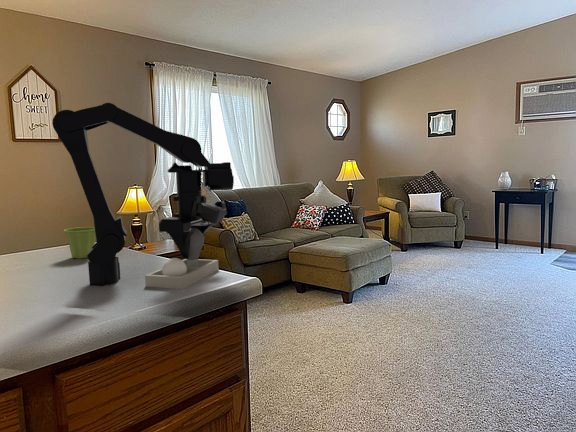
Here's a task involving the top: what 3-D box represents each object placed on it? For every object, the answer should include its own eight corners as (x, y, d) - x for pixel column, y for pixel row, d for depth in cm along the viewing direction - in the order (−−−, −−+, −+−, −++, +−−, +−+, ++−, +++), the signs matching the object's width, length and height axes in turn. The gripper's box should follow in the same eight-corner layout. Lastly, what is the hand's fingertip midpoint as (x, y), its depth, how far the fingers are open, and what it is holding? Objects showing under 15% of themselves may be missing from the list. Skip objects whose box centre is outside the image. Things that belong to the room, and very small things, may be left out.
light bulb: (208, 265, 109) (206, 225, 108) (201, 271, 103) (199, 229, 102) (185, 265, 109) (183, 225, 108) (176, 271, 103) (174, 229, 102)
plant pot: (66, 255, 136) (64, 228, 135) (99, 252, 140) (97, 225, 139) (65, 261, 128) (63, 232, 127) (100, 258, 132) (98, 229, 131)
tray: (183, 293, 93) (182, 277, 92) (145, 290, 95) (144, 275, 95) (218, 273, 109) (218, 260, 109) (186, 271, 112) (185, 258, 112)
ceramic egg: (179, 285, 95) (178, 261, 94) (157, 284, 97) (156, 260, 96) (191, 279, 100) (190, 256, 99) (171, 278, 102) (169, 255, 101)
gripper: (201, 194, 93) (204, 266, 95) (236, 189, 111) (238, 250, 112) (155, 194, 96) (159, 264, 98) (196, 189, 114) (199, 248, 115)
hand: (192, 256), depth 106 cm, fingers closed on light bulb, 5 cm apart
